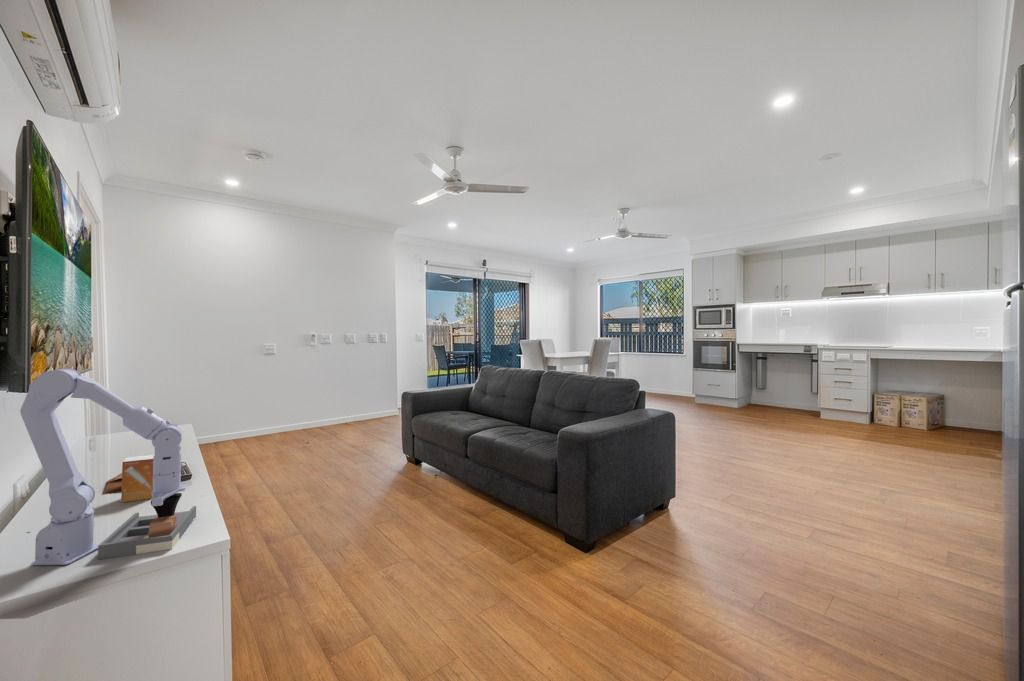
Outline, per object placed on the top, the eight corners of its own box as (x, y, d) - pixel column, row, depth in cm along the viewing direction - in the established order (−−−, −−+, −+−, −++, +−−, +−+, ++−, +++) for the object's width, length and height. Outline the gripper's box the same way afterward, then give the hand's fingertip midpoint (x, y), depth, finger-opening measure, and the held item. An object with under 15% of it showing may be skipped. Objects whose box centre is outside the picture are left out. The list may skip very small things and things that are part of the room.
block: (171, 535, 109) (171, 521, 109) (148, 538, 107) (149, 524, 107) (176, 528, 113) (176, 515, 113) (154, 531, 111) (155, 517, 111)
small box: (120, 503, 135) (121, 461, 135) (124, 497, 140) (125, 457, 141) (154, 498, 140) (155, 458, 140) (157, 492, 145) (157, 453, 145)
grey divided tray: (172, 549, 106) (172, 535, 106) (97, 559, 100) (98, 545, 100) (196, 517, 125) (196, 506, 125) (135, 524, 120) (135, 512, 120)
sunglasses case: (104, 481, 156) (118, 463, 158) (127, 488, 160) (139, 470, 162) (102, 495, 142) (116, 475, 144) (126, 501, 146) (140, 482, 148)
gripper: (177, 478, 108) (176, 533, 108) (193, 463, 121) (192, 512, 121) (141, 481, 105) (140, 537, 105) (162, 466, 118) (161, 515, 118)
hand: (166, 524), depth 113 cm, fingers closed
